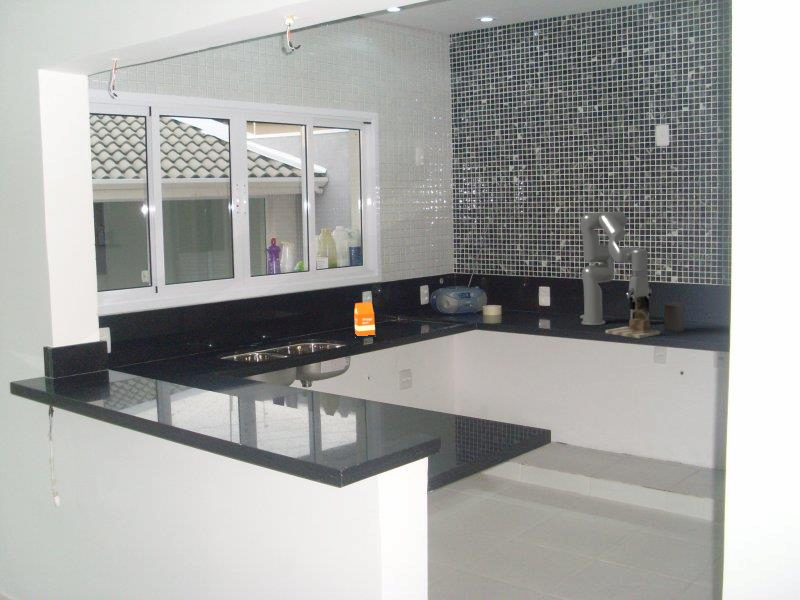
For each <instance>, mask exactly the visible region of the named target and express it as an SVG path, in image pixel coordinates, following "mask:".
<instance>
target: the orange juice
mask: <svg viewBox="0 0 800 600" xmlns="http://www.w3.org/2000/svg"><path fill="white" fill-rule="evenodd" d="M354 304H355V305H354V313H353V314H354V315H353V316H354V332H355V333H354V334H356V335H357V336H368V335H375V336H376V327H375V326H376V325H375V312H374V308H373V303H372V301H368V302H367V301H366V302H356V303H354Z"/></svg>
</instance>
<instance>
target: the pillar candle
mask: <svg viewBox="0 0 800 600" xmlns="http://www.w3.org/2000/svg"><path fill="white" fill-rule="evenodd" d="M663 330H664V331H665V332H670V333H680V332H684V331H685V303H684V302H675V301H673V302H672V301H671V302H665V303H664V329H663Z"/></svg>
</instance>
